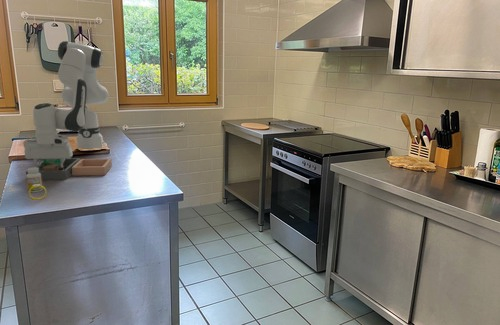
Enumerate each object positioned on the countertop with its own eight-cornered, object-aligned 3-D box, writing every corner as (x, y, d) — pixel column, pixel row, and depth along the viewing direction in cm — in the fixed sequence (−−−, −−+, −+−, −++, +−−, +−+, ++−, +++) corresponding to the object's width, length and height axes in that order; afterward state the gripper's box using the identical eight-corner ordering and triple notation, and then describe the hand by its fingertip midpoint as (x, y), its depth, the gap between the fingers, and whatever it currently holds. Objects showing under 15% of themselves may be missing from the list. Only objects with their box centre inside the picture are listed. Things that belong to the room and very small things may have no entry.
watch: (30, 201, 144) (27, 187, 143) (30, 199, 147) (27, 185, 145) (47, 198, 147) (44, 184, 145) (47, 196, 149) (44, 182, 148)
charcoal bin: (46, 166, 192) (45, 158, 191) (81, 165, 194) (80, 158, 193) (26, 180, 169) (25, 171, 168) (66, 179, 171) (65, 171, 170)
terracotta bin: (82, 166, 192) (81, 159, 191) (112, 166, 195) (111, 158, 194) (72, 175, 177) (71, 167, 176) (105, 174, 179) (104, 166, 178)
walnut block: (47, 174, 178) (46, 164, 176) (59, 174, 179) (57, 164, 177) (43, 177, 173) (42, 167, 172) (55, 177, 174) (54, 167, 172)
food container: (54, 174, 178) (52, 154, 175) (43, 173, 179) (41, 153, 176) (71, 167, 190) (69, 149, 187) (61, 167, 191) (59, 148, 188)
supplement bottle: (34, 188, 159) (31, 166, 156) (45, 188, 158) (43, 167, 156) (25, 192, 154) (22, 169, 151) (37, 193, 153) (34, 170, 151)
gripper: (19, 140, 167) (24, 169, 170) (67, 140, 170) (70, 169, 173) (25, 137, 173) (29, 166, 176) (72, 137, 176) (75, 165, 179)
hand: (50, 167), depth 175 cm, fingers open, 8 cm apart
